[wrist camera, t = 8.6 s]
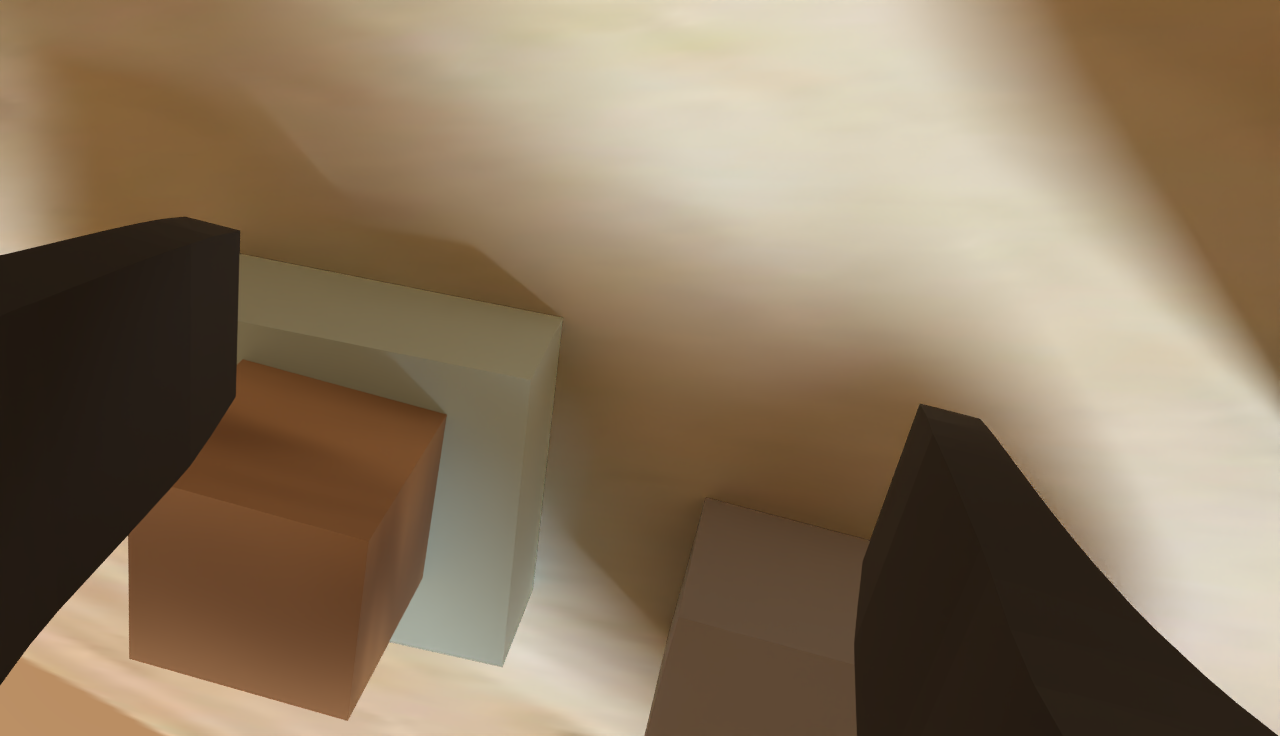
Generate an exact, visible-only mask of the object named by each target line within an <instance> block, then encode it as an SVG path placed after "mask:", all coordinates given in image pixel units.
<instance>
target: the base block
mask: <svg viewBox="0 0 1280 736" xmlns="http://www.w3.org/2000/svg"><path fill="white" fill-rule="evenodd" d="M562 323H563V318H562V317H557V316H552V315H547V314H542V313H537V312H532V311H527V310H522V309H517V308H512V307H507V306H502V305H497V304H492V303H487V302H482V301H477V300H472V299H467V298H462V297H457V296H451V295H446V294H441V293H436V292H431V291H426V290H421V289H416V288H411V287H406V286H401V285H396V284H391V283H386V282H381V281H376V280H371V279H366V278H361V277H356V276H351V275H346V274H340V273H335V272H330V271H325V270H320V269H315V268H310V267H305V266H300V265H295V264H290V263H285V262H280V261H275V260H270V259H265V258H260V257H255V256H250V255H245V254H240V255H239V295H238V334H237V364H238V363H239V362H240V361H241V360H242V359H244V360H248V361H251V362H255V363H259V364H262V365H266V366H270V367H273V368H277V369H281V370H284V371H288V372H292V373H296V374H299V375H303V376H307V377H310V378H314V379H318V380H321V381H325V382H329V383H332V384H336V385H340V386H344V387H347V388H351V389H355V390H358V391H362V392H366V393H369V394H373V395H377V396H380V397H384V398H388V399H392V400H395V401H399V402H403V403H406V404H410V405H414V406H417V407H421V408H425V409H428V410H432V411H436V412H440V413H443V414H447V418H446V424H445V431H444V438H443V444H442V451H441V458H440V465H439V471H438V478H437V485H436V491H435V498H434V505H433V512H432V518H431V525H430V532H429V538H428V545H427V552H426V559H425V565H424V572H423V579H422V580H421V582H420V584H419V586H418V588H417V590H416V592H415V594H414V596H413V598H412V599H411V601H410V603H409V605H408V607H407V609H406V611H405V613H404V615H403V617H402V618H401V620H400V622H399V624H398V626H397V628H396V630H395V632H394V634H393V636H392V637H391V639H390V641H389V642H392V643H396V644H401V645H405V646H410V647H414V648H419V649H423V650H428V651H432V652H437V653H441V654H446V655H450V656H455V657H459V658H464V659H468V660H473V661H477V662H482V663H486V664H491V665H495V666H500V667H503V664H504V662H505V659H506V657H507V654H508V652H509V649H510V646H511V644H512V641H513V639H514V636H515V634H516V631H517V628H518V626H519V623H520V621H521V618H522V616H523V613H524V611H525V608H526V605H527V603H528V600H529V598H530V595H531V593H532V590H533V584H534V575H535V566H536V557H537V548H538V539H539V530H540V521H541V512H542V503H543V494H544V485H545V476H546V467H547V458H548V449H549V440H550V431H551V422H552V413H553V404H554V395H555V386H556V377H557V368H558V359H559V350H560V341H561V332H562Z"/></svg>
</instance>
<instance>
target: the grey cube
mask: <svg viewBox="0 0 1280 736" xmlns="http://www.w3.org/2000/svg"><path fill="white" fill-rule="evenodd" d="M869 542H870V540H866V539H862V538H858V537H854V536H850V535H847V534H843V533H839V532H835V531H831V530H828V529H824V528H820V527H816V526H812V525H809V524H805V523H801V522H797V521H793V520H790V519H786V518H782V517H778V516H774V515H771V514H767V513H763V512H759V511H755V510H752V509H748V508H744V507H740V506H736V505H732V504H729V503H725V502H721V501H717V500H713V499H710V498H706V499H705V502H704V506H703V510H702V513H701V517H700V521H699V525H698V528H697V532H696V536H695V539H694V543H693V547H692V550H691V554H690V558H689V561H688V565H687V569H686V572H685V576H684V580H683V583H682V587H681V591H680V594H679V598H678V602H677V605H676V609H675V613H674V617H673V620H672V624H671V628H670V631H669V635H668V639H667V643H666V647H665V652H664V656H663V660H662V664H661V668H660V673H659V677H658V681H657V685H656V690H655V694H654V698H653V702H652V707H651V711H650V715H649V719H648V724H647V728H646V732H645V736H857V724H856V696H855V665H854V638H855V627H856V617H857V606H858V598H859V589H860V580H861V571H862V562H863V559H864V556H865V553H866V551H867V548H868V545H869Z"/></svg>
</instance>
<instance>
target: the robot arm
mask: <svg viewBox="0 0 1280 736" xmlns="http://www.w3.org/2000/svg"><path fill="white" fill-rule="evenodd" d="M239 255H240V231H239V230H235V229H231V228H227V227H223V226H219V225H215V224H211V223H208V222H204V221H200V220H196V219H192V218H188V217H178V218H167V219H160V220H154V221H149V222H143V223H138V224H133V225H129V226H124V227H120V228H115V229H111V230H106V231H102V232H98V233H93V234H89V235H85V236H81V237H77V238H72V239H68V240H64V241H60V242H56V243H51V244H47V245H43V246H39V247H34V248H30V249H26V250H22V251H18V252H13V253H9V254H5V255H0V685H1V683H2V682H3V681H4V679H5V678H6V677H7V675H8V674H9V672H10V671H11V669H12V668H13V667H14V666H15V664H16V663H17V661H18V660H19V659H20V657H21V656H22V655H23V653H24V652H25V651H26V649H27V648H28V647H29V645H30V644H31V643H32V642H33V640H34V639H35V638H36V637H37V636H38V634H39V633H40V632H41V631H42V630H43V628H44V627H45V626H46V625H47V624H48V622H49V621H50V620H51V619H52V618H53V617H54V615H55V614H56V613H57V612H58V611H59V609H60V608H61V607H62V606H63V605H64V604H65V603H66V602H67V601H68V600H69V599H70V598H71V596H72V595H73V594H74V593H75V592H76V591H77V590H78V589H79V588H80V587H81V586H82V585H83V583H84V582H85V581H86V580H87V579H88V578H89V577H90V576H91V575H92V574H93V573H94V571H95V570H96V569H97V568H98V567H99V566H100V565H101V564H102V563H103V562H104V561H105V560H106V558H107V557H108V556H109V555H110V554H111V553H112V552H113V551H114V550H115V549H116V548H117V547H118V545H119V544H120V543H121V542H122V541H123V540H124V539H125V538H126V537H127V536H128V535H129V534H130V532H131V531H132V530H133V529H134V528H135V527H136V526H137V525H138V524H139V523H140V522H141V521H142V519H143V518H144V517H145V516H146V515H147V514H148V513H149V512H150V511H151V510H152V508H153V507H154V506H155V505H156V504H157V503H158V502H159V501H160V500H161V498H162V497H163V496H164V495H165V494H166V493H167V492H168V491H169V490H170V488H171V487H172V486H173V485H174V484H175V483H176V482H177V481H178V479H179V478H180V477H181V476H182V475H183V474H184V473H185V471H186V470H187V469H188V468H189V467H190V466H191V464H192V463H193V461H194V460H195V458H196V457H197V455H198V454H199V453H200V451H201V450H202V448H203V447H204V445H205V444H206V442H207V441H208V440H209V438H210V437H211V435H212V434H213V432H214V430H215V429H216V427H217V426H218V424H219V423H220V421H221V419H222V418H223V416H224V415H225V413H226V412H227V410H228V408H229V407H230V405H231V404H232V402H233V400H234V399H235V397H236V374H237V334H238V295H239ZM854 665H855V696H856V724H857V736H1278V735H1277V734H1275V733H1274V732H1273V731H1271V730H1270V729H1269V728H1268V727H1266V726H1265V725H1264V724H1263V723H1261V722H1260V721H1259V720H1258V719H1256V718H1255V717H1254V716H1252V715H1251V714H1250V713H1249V712H1247V711H1246V710H1245V709H1244V708H1242V707H1241V706H1240V705H1239V704H1237V703H1236V702H1235V701H1234V700H1233V699H1231V698H1230V697H1229V696H1228V695H1227V694H1226V693H1224V692H1223V691H1222V690H1221V689H1220V688H1218V687H1217V686H1216V685H1215V684H1214V683H1213V682H1211V681H1210V680H1209V679H1208V678H1207V677H1206V676H1205V675H1203V674H1202V673H1201V672H1200V671H1199V670H1198V669H1197V668H1196V667H1195V666H1194V665H1193V664H1192V663H1191V662H1190V661H1188V660H1187V659H1186V658H1185V657H1184V656H1183V655H1182V654H1181V653H1180V652H1179V651H1178V650H1177V649H1176V648H1175V647H1173V646H1172V645H1171V644H1170V643H1169V642H1168V641H1167V640H1166V639H1165V638H1164V637H1163V636H1162V635H1161V634H1160V633H1158V632H1157V631H1156V630H1155V629H1154V628H1153V627H1152V626H1151V625H1150V624H1149V623H1148V622H1147V621H1146V620H1145V619H1144V618H1143V617H1142V616H1141V615H1140V614H1139V613H1138V611H1137V610H1136V609H1135V608H1134V607H1133V606H1132V605H1131V604H1130V603H1129V602H1128V601H1127V600H1126V599H1125V598H1124V596H1123V595H1122V594H1121V593H1120V592H1119V591H1118V590H1117V589H1116V588H1115V586H1114V585H1113V584H1112V583H1111V582H1110V581H1109V580H1108V579H1107V578H1106V577H1105V575H1104V574H1103V573H1102V572H1101V571H1100V570H1099V569H1098V568H1097V567H1096V565H1095V564H1094V563H1093V562H1092V561H1091V560H1090V558H1089V557H1088V556H1087V555H1086V554H1085V553H1084V551H1083V550H1082V549H1081V548H1080V547H1079V545H1078V544H1077V543H1076V542H1075V541H1074V539H1073V538H1072V537H1071V536H1070V534H1069V533H1068V532H1067V531H1066V530H1065V528H1064V527H1063V526H1062V525H1061V523H1060V522H1059V521H1058V519H1057V518H1056V517H1055V516H1054V514H1053V513H1052V512H1051V511H1050V509H1049V508H1048V507H1047V505H1046V504H1045V503H1044V501H1043V500H1042V499H1041V498H1040V496H1039V495H1038V494H1037V492H1036V491H1035V490H1034V488H1033V487H1032V486H1031V484H1030V483H1029V482H1028V480H1027V479H1026V478H1025V476H1024V475H1023V474H1022V472H1021V471H1020V470H1019V468H1018V467H1017V466H1016V464H1015V463H1014V462H1013V460H1012V459H1011V458H1010V456H1009V455H1008V454H1007V452H1006V451H1005V449H1004V448H1003V447H1002V445H1001V444H1000V443H999V441H998V440H997V439H996V438H995V436H994V435H993V434H992V432H991V431H990V430H989V429H988V427H987V426H986V425H985V424H984V423H983V422H982V421H981V420H980V419H978V418H975V417H971V416H967V415H963V414H959V413H955V412H951V411H947V410H943V409H939V408H935V407H931V406H927V405H923V404H920V405H919V408H918V410H917V413H916V416H915V419H914V421H913V424H912V427H911V430H910V432H909V435H908V438H907V441H906V443H905V446H904V449H903V452H902V454H901V457H900V460H899V463H898V465H897V468H896V471H895V474H894V476H893V479H892V482H891V485H890V487H889V490H888V493H887V496H886V498H885V501H884V504H883V507H882V509H881V512H880V515H879V518H878V520H877V523H876V526H875V529H874V531H873V534H872V537H871V540H870V542H869V545H868V548H867V551H866V553H865V556H864V559H863V562H862V571H861V580H860V589H859V598H858V606H857V617H856V627H855V638H854Z"/></svg>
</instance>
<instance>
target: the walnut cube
mask: <svg viewBox="0 0 1280 736" xmlns="http://www.w3.org/2000/svg"><path fill="white" fill-rule="evenodd" d="M446 418H447V414H443V413H440V412H436V411H432V410H428V409H425V408H421V407H417V406H414V405H410V404H406V403H403V402H399V401H395V400H392V399H388V398H384V397H380V396H377V395H373V394H369V393H366V392H362V391H358V390H355V389H351V388H347V387H344V386H340V385H336V384H332V383H329V382H325V381H321V380H318V379H314V378H310V377H307V376H303V375H299V374H296V373H292V372H288V371H284V370H281V369H277V368H273V367H270V366H266V365H262V364H259V363H255V362H251V361H248V360H244V359H242V360H241V361H240V362H239V363H238V364H237V374H236V397H235V399H234V400H233V402H232V404H231V405H230V407H229V408H228V410H227V412H226V413H225V415H224V416H223V418H222V419H221V421H220V423H219V424H218V426H217V427H216V429H215V430H214V432H213V434H212V435H211V437H210V438H209V440H208V441H207V442H206V444H205V445H204V447H203V448H202V450H201V451H200V453H199V454H198V455H197V457H196V458H195V460H194V461H193V463H192V464H191V466H190V467H189V468H188V469H187V470H186V471H185V473H184V474H183V475H182V476H181V477H180V478H179V479H178V481H177V482H176V483H175V484H174V485H173V486H172V487H171V488H170V490H169V491H168V492H167V493H166V494H165V495H164V496H163V497H162V498H161V500H160V501H159V502H158V503H157V504H156V505H155V506H154V507H153V508H152V510H151V511H150V512H149V513H148V514H147V515H146V516H145V517H144V518H143V519H142V521H141V522H140V523H139V524H138V525H137V526H136V527H135V528H134V529H133V530H132V531H131V532H130V534H129V535H128V557H129V659H132V660H136V661H139V662H143V663H147V664H150V665H154V666H157V667H161V668H164V669H168V670H171V671H175V672H178V673H182V674H185V675H189V676H192V677H196V678H199V679H203V680H206V681H210V682H213V683H217V684H220V685H224V686H227V687H231V688H234V689H238V690H241V691H245V692H248V693H252V694H255V695H259V696H262V697H266V698H269V699H273V700H277V701H280V702H284V703H287V704H291V705H294V706H298V707H301V708H305V709H308V710H312V711H315V712H319V713H322V714H326V715H329V716H333V717H336V718H340V719H343V720H347V721H348V719H349V717H350V715H351V713H352V712H353V710H354V708H355V706H356V704H357V702H358V700H359V698H360V696H361V694H362V693H363V691H364V689H365V687H366V685H367V683H368V681H369V679H370V677H371V675H372V674H373V672H374V670H375V668H376V666H377V664H378V662H379V660H380V658H381V656H382V655H383V653H384V651H385V649H386V647H387V645H388V643H389V641H390V639H391V637H392V636H393V634H394V632H395V630H396V628H397V626H398V624H399V622H400V620H401V618H402V617H403V615H404V613H405V611H406V609H407V607H408V605H409V603H410V601H411V599H412V598H413V596H414V594H415V592H416V590H417V588H418V586H419V584H420V582H421V580H422V579H423V572H424V565H425V559H426V552H427V545H428V538H429V532H430V525H431V518H432V512H433V505H434V498H435V491H436V485H437V478H438V471H439V465H440V458H441V451H442V444H443V438H444V431H445V424H446Z"/></svg>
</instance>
